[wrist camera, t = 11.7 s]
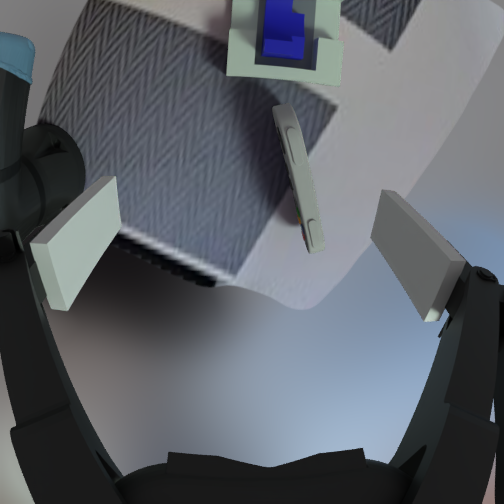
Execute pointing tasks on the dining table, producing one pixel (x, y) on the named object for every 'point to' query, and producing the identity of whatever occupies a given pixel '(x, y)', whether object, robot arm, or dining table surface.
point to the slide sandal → (299, 176)
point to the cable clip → (282, 31)
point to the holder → (305, 70)
